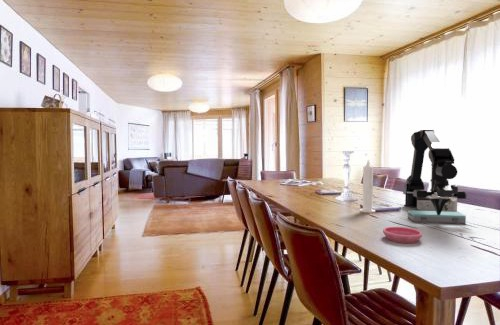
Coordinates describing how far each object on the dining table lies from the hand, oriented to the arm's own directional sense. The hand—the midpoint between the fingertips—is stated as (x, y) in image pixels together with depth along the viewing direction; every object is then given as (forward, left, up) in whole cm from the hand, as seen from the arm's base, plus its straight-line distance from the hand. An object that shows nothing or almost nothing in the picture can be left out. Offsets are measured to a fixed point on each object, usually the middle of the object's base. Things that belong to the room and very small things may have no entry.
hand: (438, 214), depth 139 cm
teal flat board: (-2, +2, -3) cm, 5 cm away
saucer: (+2, -35, -4) cm, 35 cm away
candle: (-31, -2, -4) cm, 32 cm away
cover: (-2, +2, -1) cm, 3 cm away
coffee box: (-2, +27, 0) cm, 27 cm away
